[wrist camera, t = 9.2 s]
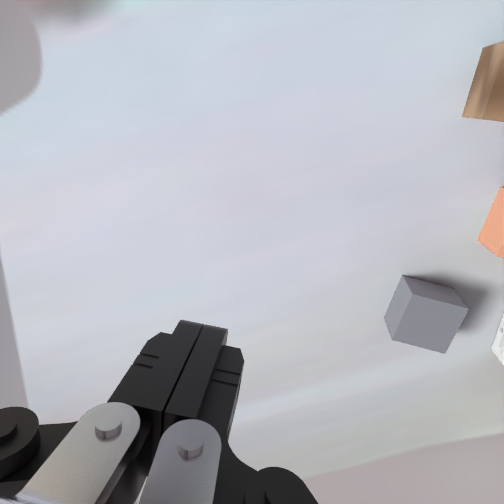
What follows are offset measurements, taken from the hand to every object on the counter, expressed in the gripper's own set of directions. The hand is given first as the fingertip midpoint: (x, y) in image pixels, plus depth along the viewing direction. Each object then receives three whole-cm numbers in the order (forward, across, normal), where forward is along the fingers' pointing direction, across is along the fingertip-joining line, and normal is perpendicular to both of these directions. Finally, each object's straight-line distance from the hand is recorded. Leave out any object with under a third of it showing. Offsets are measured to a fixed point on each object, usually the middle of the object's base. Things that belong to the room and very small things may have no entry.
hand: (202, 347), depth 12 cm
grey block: (+25, -16, +9) cm, 31 cm away
